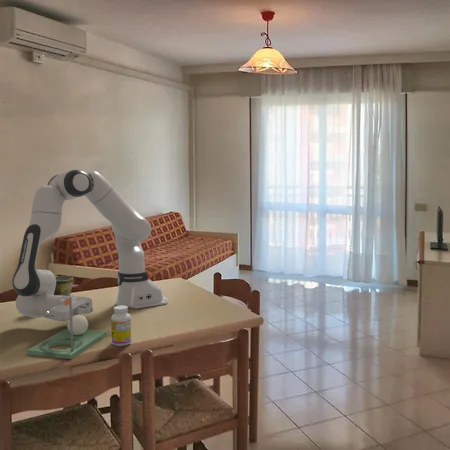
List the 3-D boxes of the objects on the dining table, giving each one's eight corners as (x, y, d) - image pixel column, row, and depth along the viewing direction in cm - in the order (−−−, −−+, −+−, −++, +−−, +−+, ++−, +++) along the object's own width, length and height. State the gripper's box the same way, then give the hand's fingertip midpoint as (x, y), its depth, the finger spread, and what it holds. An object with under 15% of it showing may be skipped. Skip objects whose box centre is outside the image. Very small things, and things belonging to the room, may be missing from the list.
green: (67, 331, 200) (65, 279, 198) (106, 335, 196) (105, 282, 194) (27, 354, 177) (24, 296, 175) (71, 359, 173) (69, 299, 171)
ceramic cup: (76, 301, 242) (76, 279, 241) (54, 304, 237) (53, 282, 236) (67, 295, 253) (66, 273, 252) (45, 298, 247) (44, 276, 246)
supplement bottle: (113, 340, 191) (112, 304, 189) (132, 340, 191) (131, 304, 190) (110, 347, 184) (109, 310, 183) (130, 346, 185) (129, 309, 183)
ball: (87, 330, 197) (86, 311, 196) (89, 336, 190) (88, 317, 189) (67, 332, 194) (66, 313, 194) (68, 338, 188) (67, 319, 187)
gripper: (40, 306, 193) (76, 309, 189) (71, 293, 213) (104, 295, 209) (41, 323, 194) (76, 327, 190) (71, 308, 213) (104, 311, 210)
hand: (91, 310), depth 200 cm, fingers closed
